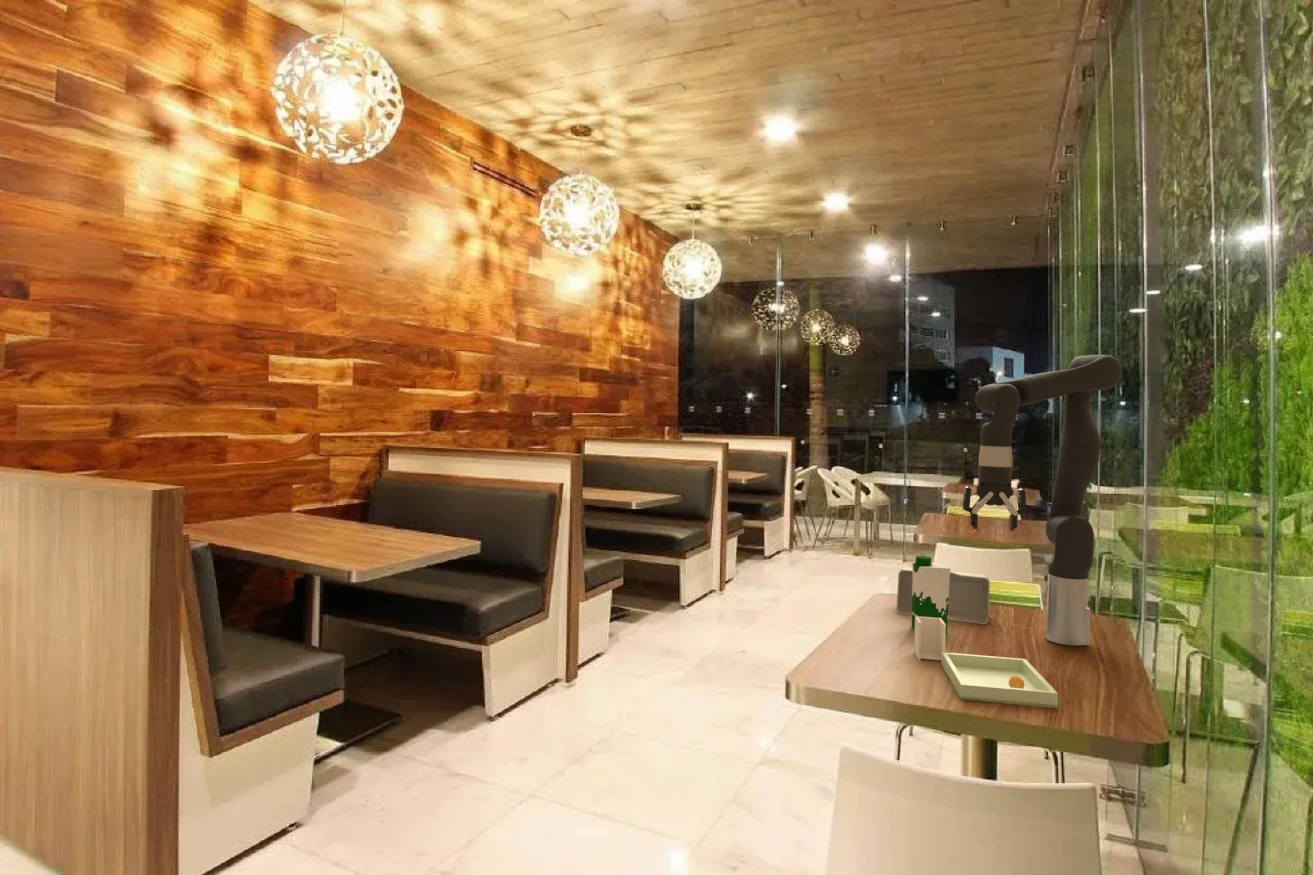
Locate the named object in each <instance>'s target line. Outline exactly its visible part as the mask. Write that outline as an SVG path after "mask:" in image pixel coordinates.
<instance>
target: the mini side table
mask: <svg viewBox="0 0 1313 875" xmlns="http://www.w3.org/2000/svg"><path fill="white" fill-rule="evenodd" d="M946 636H947V635H946V624H945V623H944V621H943V620H942V619H941V618H932V617H918V616H915V629H914V640H913V641H914V642H913V643H914V644H913V646H914V647H913V654H914V656H915V658H916V660H917V661H919V662H921V660H922V659H923V660H933V661H941V659H942V652H946Z"/></svg>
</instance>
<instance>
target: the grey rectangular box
mask: <svg viewBox="0 0 1313 875" xmlns="http://www.w3.org/2000/svg"><path fill="white" fill-rule="evenodd" d="M897 578H898V579H897V594H896V612H897V613H898V614H899V615H904V616H905V615H906V616H912V584H913V574H912V567H907V566H904V567H901V568H900V570H899V572H898V577H897ZM990 585H991V584H990V578H989V576H988V575H985V574H981V573H979V574H978V573H971V572H958V571H950V579H949V603H948V621H955V622H965V623H973V624H980V625H981V624H982V625H986V624H988V623H989V621H990V589H991V588H990V587H991V586H990Z"/></svg>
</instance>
